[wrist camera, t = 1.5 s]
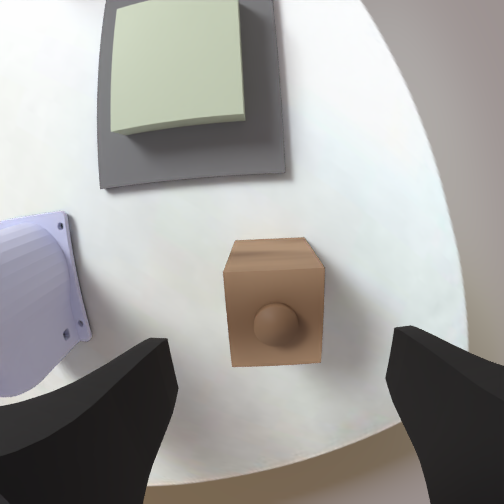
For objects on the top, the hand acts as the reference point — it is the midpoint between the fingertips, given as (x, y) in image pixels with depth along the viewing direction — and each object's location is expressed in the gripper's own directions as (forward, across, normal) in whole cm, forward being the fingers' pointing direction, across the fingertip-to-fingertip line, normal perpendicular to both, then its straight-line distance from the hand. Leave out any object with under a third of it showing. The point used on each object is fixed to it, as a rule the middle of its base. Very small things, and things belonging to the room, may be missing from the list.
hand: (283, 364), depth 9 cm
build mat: (+9, +5, -13) cm, 16 cm away
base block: (+9, +5, -13) cm, 16 cm away
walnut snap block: (+10, 0, 0) cm, 10 cm away
